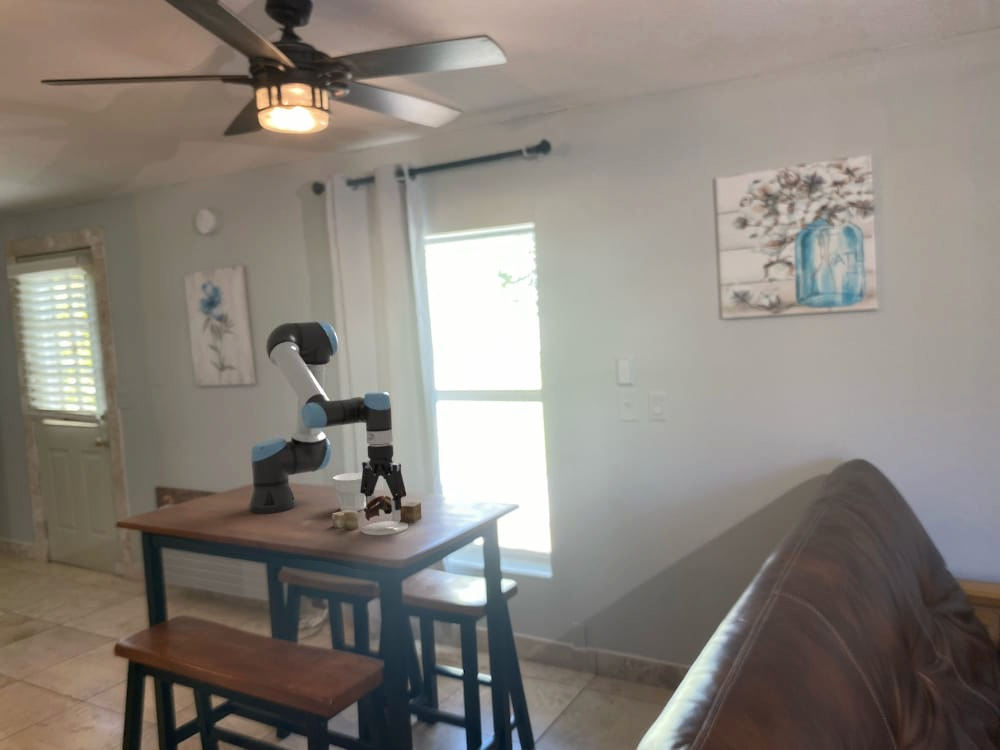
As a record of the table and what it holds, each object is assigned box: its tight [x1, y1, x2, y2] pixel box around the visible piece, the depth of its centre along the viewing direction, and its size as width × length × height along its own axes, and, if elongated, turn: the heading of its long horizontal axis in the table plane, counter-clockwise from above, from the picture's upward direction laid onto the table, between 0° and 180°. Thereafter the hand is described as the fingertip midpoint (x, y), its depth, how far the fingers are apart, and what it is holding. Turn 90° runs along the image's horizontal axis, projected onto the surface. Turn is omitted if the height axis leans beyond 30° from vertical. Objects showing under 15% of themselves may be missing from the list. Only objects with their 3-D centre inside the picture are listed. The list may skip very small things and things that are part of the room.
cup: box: [332, 472, 367, 512], centre depth 245 cm, size 12×12×11 cm
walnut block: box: [399, 501, 422, 523], centre depth 227 cm, size 5×5×5 cm
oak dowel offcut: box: [344, 510, 359, 531], centre depth 220 cm, size 4×4×5 cm
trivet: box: [360, 520, 409, 537], centre depth 218 cm, size 14×14×1 cm
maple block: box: [331, 510, 351, 529], centre depth 225 cm, size 4×6×4 cm, turn 135°
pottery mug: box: [363, 495, 393, 521], centre depth 218 cm, size 12×10×8 cm
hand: (384, 518), depth 218 cm, fingers closed on pottery mug, 9 cm apart
